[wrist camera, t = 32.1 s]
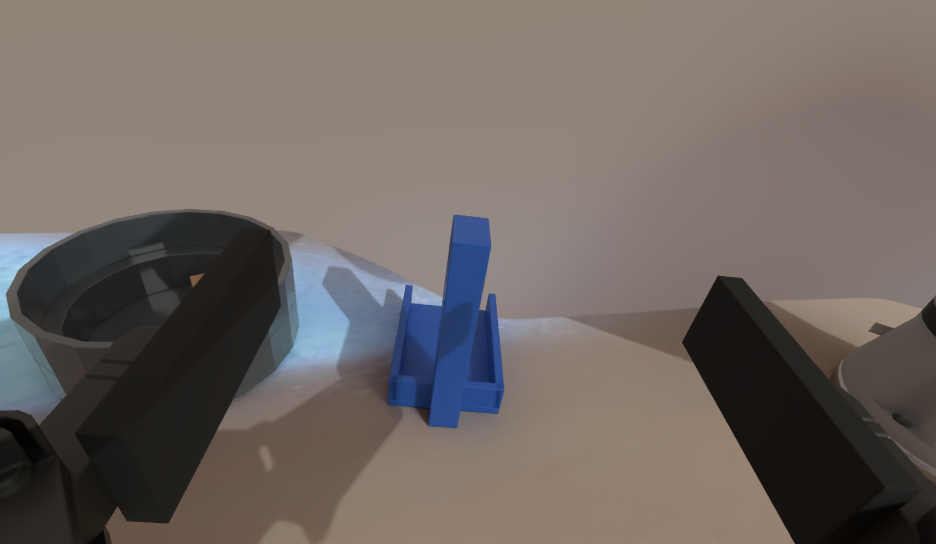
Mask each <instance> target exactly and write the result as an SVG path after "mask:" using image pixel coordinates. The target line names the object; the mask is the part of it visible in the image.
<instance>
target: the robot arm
mask: <svg viewBox="0 0 936 544" xmlns="http://www.w3.org/2000/svg"><path fill="white" fill-rule="evenodd" d="M280 308H281V300H280V293H279V286H278V279H277V272H276V265H275V257H274V250H273V243H272V236H271V230H268V229H259V228H249V227H242V228H241V229H240V230H239V232H238V233H237V234H236V235H235V236H234V238H233V239H232V240H231V241H230V243H229V244H228V245H227V246H226V248H225V249H224V250H223V251H222V252H221V254H220V255H219V256H218V257H217V259H216V260H215V261H214V262H213V264H212V265H211V266H210V267H209V268H208V270H207V271H206V272H205V273H204V275H203V276H202V277H201V278H200V280H199V281H198V282H197V283H196V284H195V286H194V287H193V288H192V289H191V291H190V292H189V293H188V294H187V296H186V297H185V298H184V299H183V300H182V302H181V303H180V304H179V305H178V307H177V308H176V309H175V310H174V311H173V313H172V314H171V315H170V316H169V318H168V319H167V320H166V321H165V323H164V324H163V325H162V326H161V327H156V326H144V325H139V326H138V327H136V328H135V329H133V330H131V331H130V332H128V333H127V334H125V335H124V336H122V337H120V338H119V339H117V340H116V341H115V342H114V343H113V344H112V345H111V346H110V347H109V349H108V350H107V351H106V352H105V353H104V354H103V355H102V356H101V357H100V359H99V362H98V363H95V364H94V365H93V366H92V367H91V369H90V370H89V371H88V372H87V373H86V374H85V378H84V379H82V378H81V380H80V381H79V382H78V383H77V384H76V385H75V386H74V387H73V388H72V390H71V391H70V392H69V393H68V394H67V395H66V396H65V397H64V398H63V400H62V401H61V402H60V403H59V404H58V405H57V406H56V407H55V408H54V410H53V411H52V412H51V413H50V414H49V415H48V416H47V417H46V418H45V420H44V421H43V422H42V423H41V424H40V425H39V426H38V424H37V423H36V421H35V420H34V418H33V417H32V415H29V414H27V413H24V412H21V411H19V410H16V411H0V544H112V543H111V539H110V534H109V532H108V530H107V529H106V527H105V525H106V524H107V522H108V520H109V519H110V517H111V516H112V514H113V512H114V511H115V509H116V508H117V506H118V507H119V509H120V510H121V512H122V514H123V515H124V517H125V519H126V520H127V521H133V522H152V523H169V521H170V519H171V518H172V516H173V514H174V512H175V510H176V508H177V506H178V504H179V502H180V500H181V498H182V496H183V494H184V492H185V491H186V489H187V487H188V485H189V483H190V481H191V479H192V477H193V475H194V473H195V471H196V469H197V467H198V466H199V464H200V462H201V460H202V458H203V456H204V454H205V452H206V450H207V448H208V446H209V444H210V442H211V440H212V439H213V437H214V435H215V433H216V431H217V429H218V427H219V425H220V423H221V421H222V419H223V417H224V415H225V414H226V412H227V410H228V408H229V406H230V404H231V402H232V400H233V398H234V396H235V394H236V392H237V390H238V388H239V387H240V385H241V383H242V381H243V379H244V377H245V375H246V373H247V371H248V369H249V367H250V365H251V363H252V362H253V360H254V358H255V356H256V354H257V352H258V350H259V348H260V346H261V344H262V342H263V340H264V338H265V337H266V335H267V333H268V331H269V329H270V327H271V325H272V323H273V321H274V319H275V317H276V315H277V313H278V311H279V310H280ZM869 332H872V333H875V334H878V335H881V336H879V337H877V338H876V339H874V340H872V341H870V342H868V343H866V344H865V345H863V346H861V347H859V348H857V349H855V350H854V351H853V352H851V353H850V354H849V355H847V356H846V357H845V358H844V359H843V360H842V361H841V363H840V364H839V365H838V366H837V367H836V369H835V370H834V372H833V375H832V383H831V382H830V380H829V379H828V378H827V377H826V376H825V375H824V373H823V372H822V371H821V370H820V369H819V368H818V366H817V365H816V364H815V363H814V362H813V361H812V359H811V358H810V357H809V356H808V355H807V354H806V352H805V351H804V350H803V349H802V348H801V347H800V345H799V344H798V343H797V342H796V341H795V340H794V338H793V337H792V336H791V335H790V334H789V333H788V331H787V330H786V329H785V328H784V327H783V326H782V324H781V323H780V322H779V321H778V320H777V319H776V317H775V316H774V315H773V314H772V313H771V312H770V310H769V309H768V308H767V307H766V306H765V305H764V303H763V302H762V301H761V300H760V299H759V297H758V296H757V295H756V294H755V293H754V292H753V291H752V289H751V288H750V287H749V286H748V285H747V283H746V282H745V281H744V280H743V279H742V278H735V277H725V276H718V277H717V278H716V280H715V282H714V284H713V286H712V288H711V289H710V291H709V293H708V295H707V297H706V299H705V300H704V303H703V304H702V306H701V308H700V310H699V312H698V313H697V315H696V317H695V319H694V321H693V323H692V325H691V326H690V328H689V330H688V332H687V334H686V336H685V338H684V339H683V341H682V343H683V345H684V347H685V348H686V350H687V352H688V354H689V356H690V357H691V359H692V361H693V363H694V365H695V366H696V368H697V370H698V372H699V373H700V375H701V377H702V379H703V381H704V382H705V384H706V386H707V388H708V389H709V391H710V393H711V395H712V397H713V398H714V400H715V402H716V404H717V406H718V407H719V409H720V411H721V413H722V414H723V416H724V418H725V420H726V422H727V423H728V425H729V427H730V429H731V431H732V432H733V434H734V436H735V438H736V439H737V441H738V443H739V445H740V447H741V448H742V450H743V452H744V454H745V456H746V457H747V459H748V461H749V463H750V464H751V466H752V468H753V470H754V472H755V473H756V475H757V477H758V479H759V481H760V482H761V484H762V486H763V488H764V489H765V491H766V493H767V495H768V497H769V498H770V500H771V502H772V504H773V506H774V507H775V509H776V511H777V513H778V514H779V516H780V518H781V520H782V522H783V523H784V525H785V527H786V529H787V530H788V532H789V534H790V536H791V538H792V539H793V541H794V543H795V544H936V488H935V487H936V296H935V297H934V298H933V299H932V300H931V301H930V302H929V303H928V305H927V306H926V307H925V308H924V309H923V310H922V311H921V312H920V313H919V314H918V315H917V316H916V317H914V318H913V319H911V320H909V321H907V322H905V323H903V324H902V325H900V326H898V327H896V328H891V327H888V326H885V325H882V324H879V323H875V324H874V325H873V326H872V327H871V329H870V330H869Z"/></svg>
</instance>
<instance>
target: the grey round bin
mask: <svg viewBox="0 0 936 544" xmlns="http://www.w3.org/2000/svg"><path fill="white" fill-rule="evenodd" d="M242 227H249V228H259V229H268V230H271V236H272V243H273V250H274V257H275V265H276V272H277V279H278V286H279V293H280V300H281V308H280V310H279V311H278V313H277V315H276V317H275V319H274V321H273V323H272V325H271V327H270V329H269V331H268V333H267V335H266V337H265V338H264V340H263V342H262V344H261V346H260V348H259V350H258V352H257V354H256V356H255V358H254V360H253V362H252V363H251V365H250V367H249V369H248V371H247V373H246V375H245V377H244V379H243V381H242V383H241V385H240V387H239V388H238V390H237V392H236V394H235V396H234V398H236V397H238V396H241V395H243V394H244V393H246V392H248V391H249V390H250V389H252V388H253V387H254V386H256V385H257V384H258V383H260V382H261V381H262V380H264V379H265V378H266V377H268V376H269V375H270V374H272V373H273V372H274V371H275V370H276V369H277V367H278V366H279V365H280V363H281V362H282V361H283V359H284V358H285V357H286V356H287V354H288V353H289V352H290V350H291V349H292V348H293V345H294V341H295V338H296V334H297V330H298V327H299V322H298V313H297V303H296V294H295V284H294V274H293V265H292V258H291V254H290V250H289V246H288V243H287V241H286V240H285V239H284V238H283V237H282V236H281V235H280V234H279V233H278V232H277V231H276V230H275V229H274V228H272V227H270V226H268V225H266V224H264V223H262V222H260V221H258V220H256V219H253V218H251V217H247V216H242V215H238V214H233V213H229V212H225V211H211V210H196V209H185V210H172V211H157V212H149V213H144V214H139V215H134V216H129V217H124V218H118V219H114V220H112V221H108V222H105V223H103V224H99V225H96V226H93V227H90V228H87V229H84V230H81V231H79V232H76V233H74V234H72V235H70V236H68V237H66V238H64V239H62V240H60V241H58V242H56V243H55V244H53V245H51V246H49V247H47V248H45V249H43V250H42V251H41V252H40V253H39V254H37V255H36V256H35V257H34V258H33V259H31V260H30V261H29V262H28V263H27V264H25V265H24V266H23V267H22V268H21V269H19V271H18V272H17V274H16V276H15V278H14V280H13V282H12V284H11V286H10V287H9V289H8V291H7V293H6V298H7V303H8V308H9V313H10V318H11V319H12V321H13V323H14V325H15V326H16V328H17V330H18V332H19V333H20V335H21V337H22V339H23V340H24V342H25V344H26V346H27V347H28V349H29V351H30V353H31V354H32V356H33V358H34V359H35V361H36V363H37V365H38V366H39V368H40V370H41V372H42V373H43V375H44V377H45V379H46V380H47V382H48V384H49V385H50V387H51V389H52V391H53V392H54V394H55V395H56V396H57V397H59V398H60V399H61V400H63V398H64V397H65V396H66V395H67V394H68V393H69V392H70V391H71V390H72V388H73V387H74V386H75V385H76V384H77V383H78V382H79V381H80V380H81V378H82V379H84V378H85V374H86V373H87V372H88V371H89V370H90V369H91V367H92V366H93V365H94V364H95V363H98V362H99V359H100V357H101V356H102V355H103V354H104V353H105V352H106V351H107V350H108V349H109V347H110V346H111V345H112V344H113V343H114V342H115V341H116V340H117V339H119V338H120V337H122V336H124V335H125V334H127V333H128V332H130V331H131V330H133V329H135V328H136V327H138V326H139V325H144V326H156V327H161V326H162V325H163V324H164V323H165V321H166V320H167V319H168V318H169V316H170V315H171V314H172V313H173V311H174V310H175V309H176V308H177V307H178V305H179V304H180V303H181V302H182V300H183V299H184V298H185V297H186V296H187V294H188V293H189V292H190V291H191V289H192V284H191V281H190V276H194V275H199V274H203V273H205V272H206V271H207V270H208V268H209V267H210V266H211V265H212V264H213V262H214V261H215V260H216V259H217V257H218V256H219V255H220V254H221V252H222V251H223V250H224V249H225V248H226V246H227V245H228V244H229V243H230V241H231V240H232V239H233V238H234V236H235V235H236V234H237V233H238V232H239V230H240V229H241V228H242ZM234 398H233V399H234Z"/></svg>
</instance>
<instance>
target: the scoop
mask: <svg viewBox="0 0 936 544" xmlns="http://www.w3.org/2000/svg"><path fill="white" fill-rule="evenodd" d="M490 250H491V239H490V229H489V219H488V218H480V217H471V216H461V215H454V216H453V224H452V231H451V239H450V247H449V255H448V263H447V270H446V278H445V286H444V294H443V301H442V306H433V305H423V304H412V303H411V300H412V287H413V286H410V285H406V287H405V293H404V298H403V304H402V310H401V315H400V321H399V326H398V332H397V338H396V343H395V349H394V355H393V360H392V366H391V371H390V377H389V388H388V405H396V406H408V407H421V408H430V410H429V423H428V425H429V426H437V427H450V428H457V424H458V419H459V414H460V411H470V412H483V413H495V414H498V412H499V408H500V404H501V400H502V397H503V393H504V383H503V373H502V362H501V351H500V340H499V329H498V318H497V307H496V296H495V294H489V296H488V301H487V306H486V311H483V310H479V308H480V303H481V297H482V292H483V287H484V282H485V276H486V271H487V265H488V260H489V255H490Z"/></svg>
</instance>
